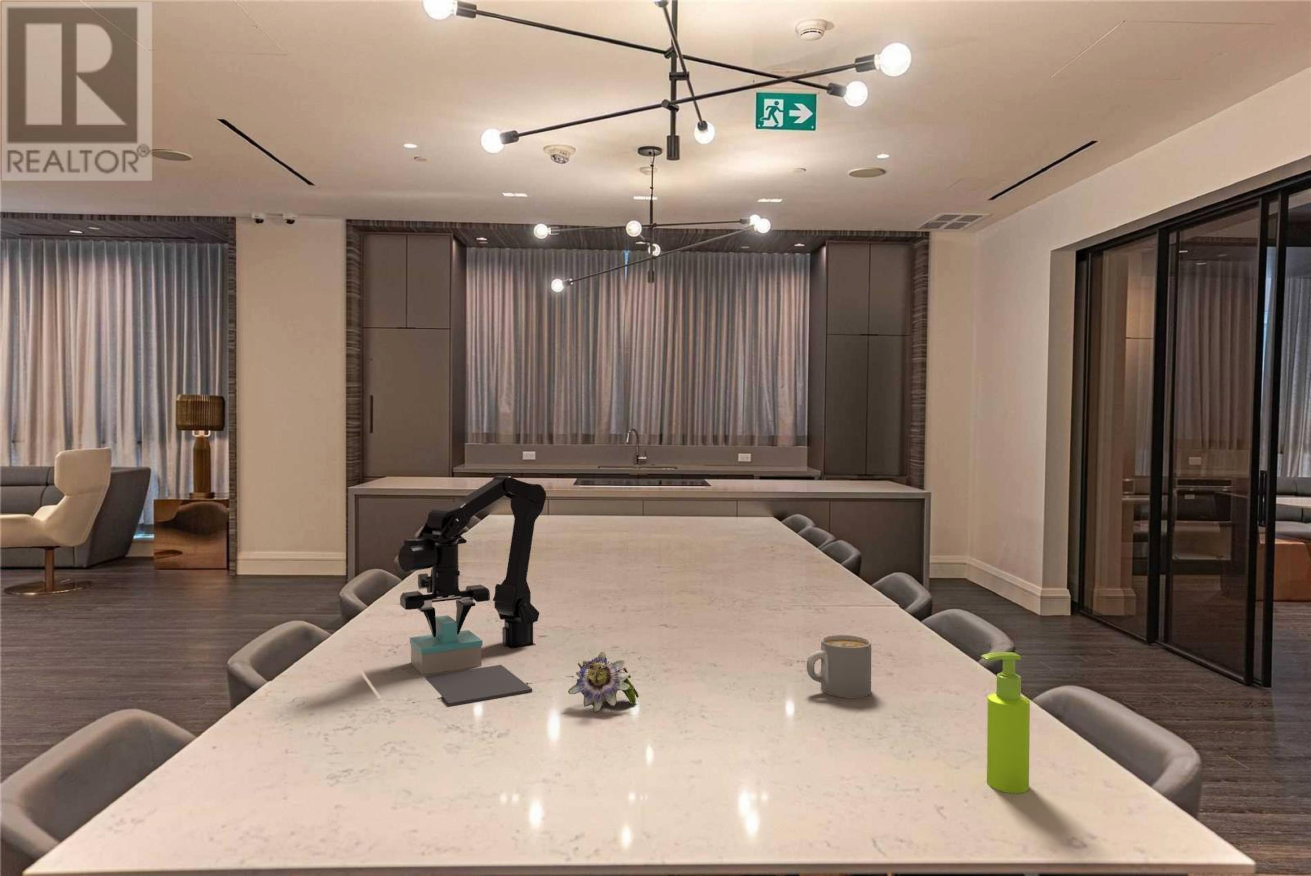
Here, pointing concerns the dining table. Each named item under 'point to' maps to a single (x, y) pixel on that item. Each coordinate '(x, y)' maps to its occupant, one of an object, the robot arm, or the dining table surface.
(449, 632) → the lid
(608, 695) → the passion flower
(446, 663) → the storage box
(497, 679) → the rubber mat
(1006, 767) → the soap dispenser
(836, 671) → the coffee mug
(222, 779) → the dining table surface
